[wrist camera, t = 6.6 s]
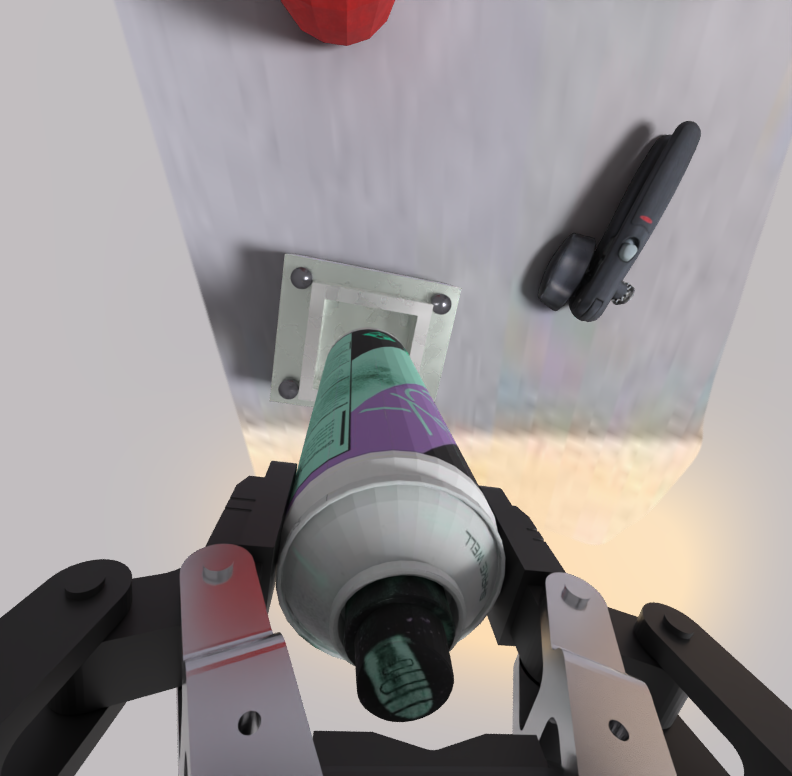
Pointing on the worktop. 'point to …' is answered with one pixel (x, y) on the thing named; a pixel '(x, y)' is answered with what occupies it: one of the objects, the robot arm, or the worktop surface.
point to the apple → (339, 18)
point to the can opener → (619, 234)
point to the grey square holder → (354, 321)
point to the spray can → (386, 531)
